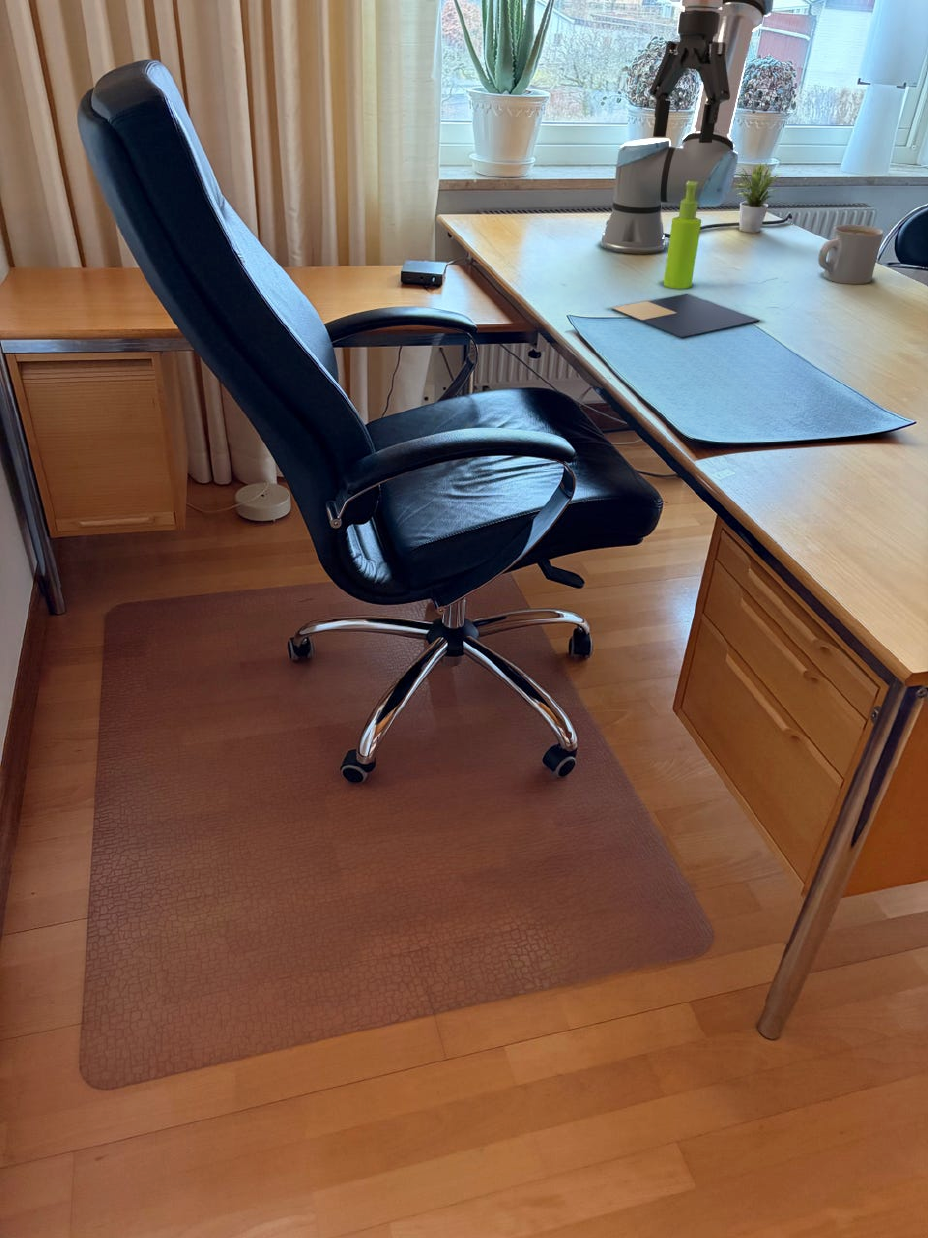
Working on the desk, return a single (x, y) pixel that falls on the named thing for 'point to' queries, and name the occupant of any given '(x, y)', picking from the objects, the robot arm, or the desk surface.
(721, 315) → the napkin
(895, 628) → the desk surface
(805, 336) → the desk surface
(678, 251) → the soap dispenser
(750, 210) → the house plant
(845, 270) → the coffee mug
